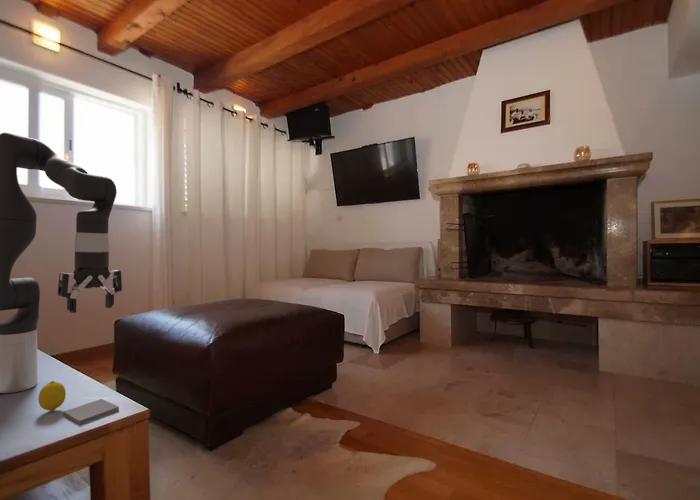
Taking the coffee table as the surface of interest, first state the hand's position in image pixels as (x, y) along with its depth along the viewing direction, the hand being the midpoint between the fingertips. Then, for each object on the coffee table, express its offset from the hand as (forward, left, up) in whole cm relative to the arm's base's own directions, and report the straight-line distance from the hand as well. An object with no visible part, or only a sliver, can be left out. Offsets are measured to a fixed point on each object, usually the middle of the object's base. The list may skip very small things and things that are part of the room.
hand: (91, 310), depth 98 cm
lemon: (-6, -7, -27) cm, 28 cm away
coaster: (+4, -2, -26) cm, 27 cm away
